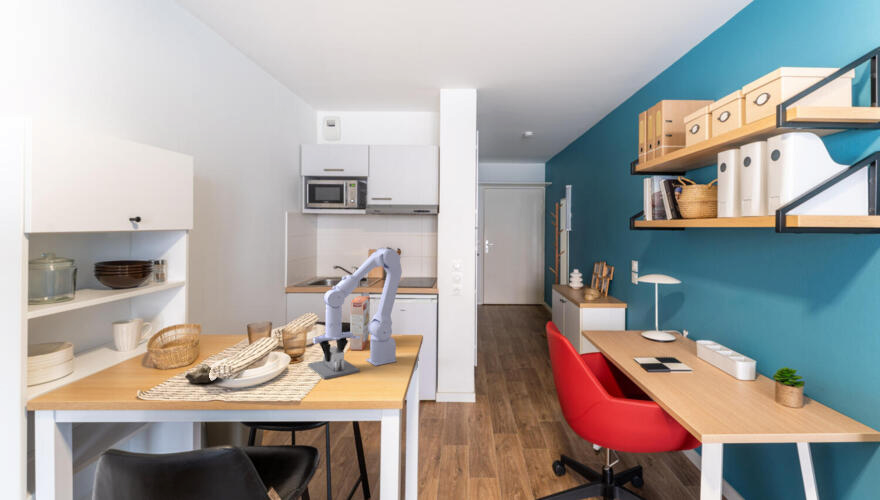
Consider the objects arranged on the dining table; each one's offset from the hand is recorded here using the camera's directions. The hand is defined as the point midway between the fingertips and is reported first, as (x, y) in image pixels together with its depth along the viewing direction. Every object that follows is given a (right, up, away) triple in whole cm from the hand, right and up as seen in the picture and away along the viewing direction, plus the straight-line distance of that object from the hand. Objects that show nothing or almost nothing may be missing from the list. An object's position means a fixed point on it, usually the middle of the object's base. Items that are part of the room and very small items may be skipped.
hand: (333, 359), depth 149 cm
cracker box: (+4, -2, +30) cm, 30 cm away
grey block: (0, -2, 0) cm, 2 cm away
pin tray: (0, -3, 0) cm, 3 cm away
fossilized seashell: (-39, -4, -14) cm, 42 cm away
